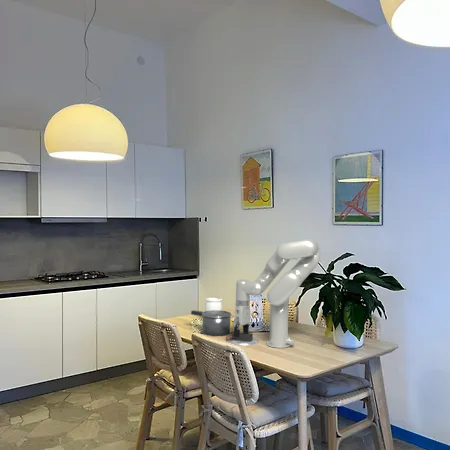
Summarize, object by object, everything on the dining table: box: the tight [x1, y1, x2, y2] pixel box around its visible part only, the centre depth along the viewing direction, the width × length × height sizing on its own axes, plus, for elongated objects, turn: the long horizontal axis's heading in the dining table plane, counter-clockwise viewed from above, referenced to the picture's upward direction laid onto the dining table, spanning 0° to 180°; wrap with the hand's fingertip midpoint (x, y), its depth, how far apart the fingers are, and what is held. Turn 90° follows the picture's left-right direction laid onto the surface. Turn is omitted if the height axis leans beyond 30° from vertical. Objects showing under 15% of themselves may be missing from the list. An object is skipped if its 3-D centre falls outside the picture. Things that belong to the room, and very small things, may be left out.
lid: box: [225, 330, 259, 347], centre depth 240 cm, size 17×17×5 cm
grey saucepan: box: [190, 309, 232, 337], centre depth 259 cm, size 25×17×11 cm, turn 58°
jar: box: [204, 296, 223, 312], centre depth 282 cm, size 11×10×15 cm
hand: (241, 334), depth 240 cm, fingers open, 9 cm apart
